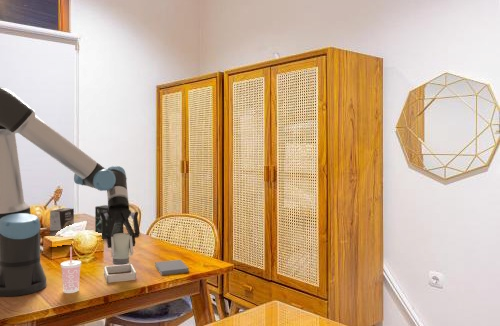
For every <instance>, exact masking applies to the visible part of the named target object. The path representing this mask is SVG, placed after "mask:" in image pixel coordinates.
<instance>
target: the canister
mask: <svg viewBox="0 0 500 326" xmlns="http://www.w3.org/2000/svg"><path fill="white" fill-rule="evenodd" d="M112 237H113V238H114V257H112V265H114V266H115V265H125V264H130V248H129V246H130V234H128V232H124V233H117V234H114V235H113V236H112Z"/></svg>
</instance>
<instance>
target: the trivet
mask: <svg viewBox="0 0 500 326" xmlns="http://www.w3.org/2000/svg"><path fill="white" fill-rule="evenodd" d="M154 266H155V269H156V270H157V271H158V272H159V273H160V275H161V276H166V275H168V276H169V275H175V274H184V273H189V272H190V270H189V269H190V268H189V267H188V266H187V265H186V264H185V263H184V261H182V260H181V259H173V260H165V261H154Z"/></svg>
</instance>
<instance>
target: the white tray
mask: <svg viewBox="0 0 500 326" xmlns="http://www.w3.org/2000/svg"><path fill="white" fill-rule="evenodd" d="M103 269H104V270H103V272H104V278H105V281H106V283H107V284H109V283H118V282H126V281H134V280H137V271H136V270H135V268H134V265H133V264H132V263H128V264H124V265H115V264H114V265H106V266H104V267H103ZM122 272H123V273H122Z"/></svg>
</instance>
